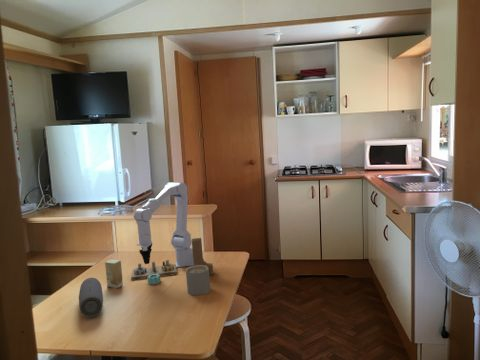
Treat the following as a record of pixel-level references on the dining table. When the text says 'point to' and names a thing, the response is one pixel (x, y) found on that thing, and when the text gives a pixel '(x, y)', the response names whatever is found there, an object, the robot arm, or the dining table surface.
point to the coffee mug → (198, 280)
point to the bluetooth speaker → (90, 297)
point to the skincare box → (114, 273)
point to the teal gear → (153, 279)
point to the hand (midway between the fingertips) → (147, 261)
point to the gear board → (150, 272)
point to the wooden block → (200, 255)
